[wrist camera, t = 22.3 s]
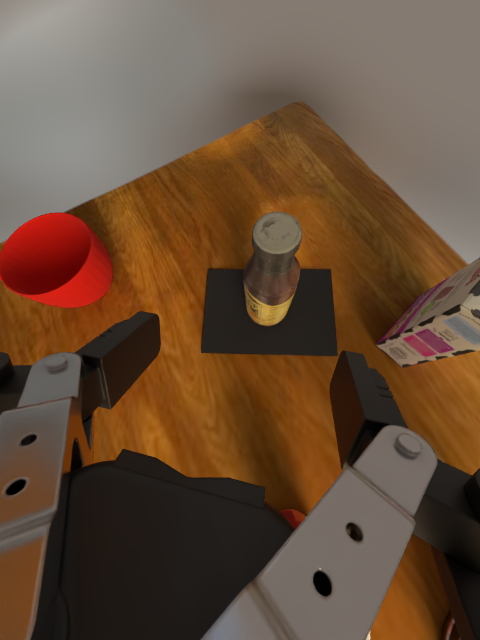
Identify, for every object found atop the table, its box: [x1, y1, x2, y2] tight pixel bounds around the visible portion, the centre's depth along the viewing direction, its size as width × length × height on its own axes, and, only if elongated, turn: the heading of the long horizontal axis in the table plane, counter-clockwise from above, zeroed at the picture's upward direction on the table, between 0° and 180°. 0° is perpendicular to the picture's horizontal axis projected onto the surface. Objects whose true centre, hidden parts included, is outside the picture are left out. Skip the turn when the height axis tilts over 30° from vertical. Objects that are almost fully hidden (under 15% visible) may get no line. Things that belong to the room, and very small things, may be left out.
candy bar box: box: [376, 258, 480, 368], centre depth 29 cm, size 11×5×16 cm, turn 134°
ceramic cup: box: [0, 213, 113, 308], centre depth 39 cm, size 13×17×10 cm
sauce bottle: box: [243, 212, 302, 326], centre depth 30 cm, size 7×6×20 cm
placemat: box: [201, 269, 338, 356], centre depth 39 cm, size 20×14×1 cm
